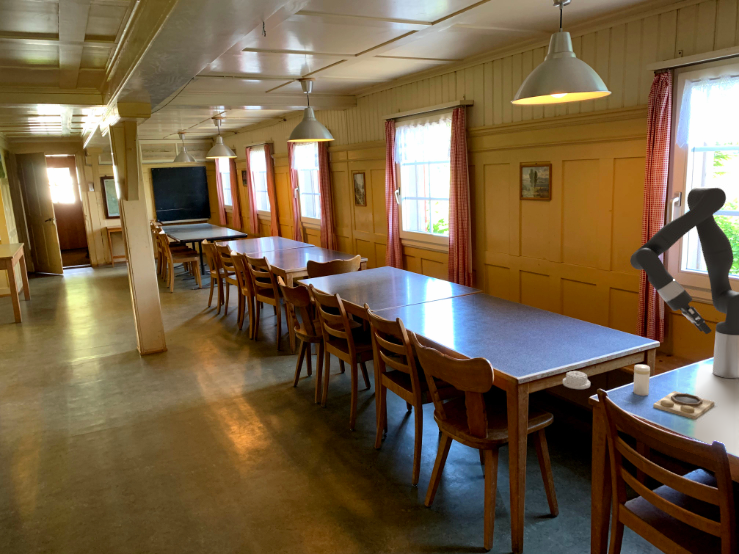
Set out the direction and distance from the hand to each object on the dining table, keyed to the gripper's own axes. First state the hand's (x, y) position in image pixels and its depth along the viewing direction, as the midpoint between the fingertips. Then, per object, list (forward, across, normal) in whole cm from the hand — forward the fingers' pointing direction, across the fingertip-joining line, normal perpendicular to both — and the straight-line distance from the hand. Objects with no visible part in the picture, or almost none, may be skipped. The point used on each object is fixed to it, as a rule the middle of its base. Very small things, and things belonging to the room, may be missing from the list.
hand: (706, 331), depth 188 cm
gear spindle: (+6, -1, +31) cm, 31 cm away
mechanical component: (-8, +2, +48) cm, 48 cm away
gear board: (+15, -9, +22) cm, 28 cm away
